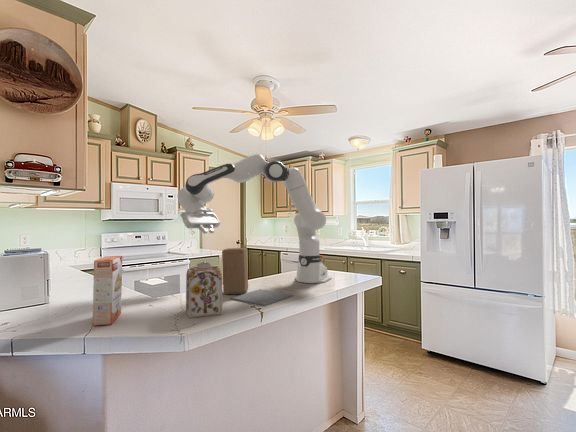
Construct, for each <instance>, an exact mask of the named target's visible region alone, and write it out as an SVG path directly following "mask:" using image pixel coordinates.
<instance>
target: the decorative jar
mask: <svg viewBox="0 0 576 432" xmlns="http://www.w3.org/2000/svg"><path fill="white" fill-rule="evenodd" d="M221 271H222V270H221V269H220V268H219V267H218V266H211V262H208V261H207V262H205V261H202V262H197V264H196V266H194V267H190V268H187V271H186V276H185V277H186V278H185V279H186V281H185V282H186V283H185V285H186V286H185V289H186V290H185V303H186V304H185V307H186V308H185V309H186V313H187V316H188V319H193V318H194V319H195V318H202V317H212V316H219V315H220V316H221V315H222V314H223V273H222V272H221Z"/></svg>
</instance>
